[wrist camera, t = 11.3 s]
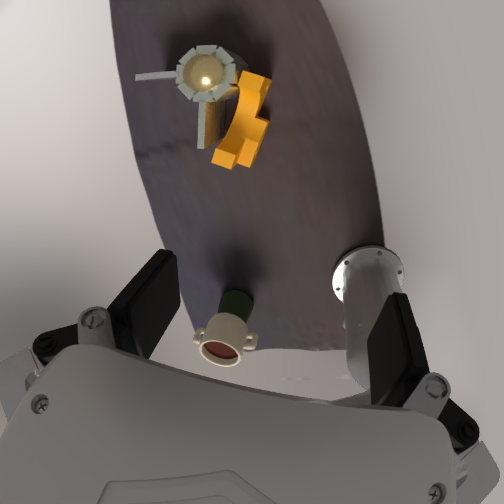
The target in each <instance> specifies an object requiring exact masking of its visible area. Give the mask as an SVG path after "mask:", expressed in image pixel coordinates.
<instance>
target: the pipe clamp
mask: <svg viewBox="0 0 504 504" xmlns="http://www.w3.org/2000/svg"><path fill="white" fill-rule="evenodd" d="M271 81H272V80H271V79H268V78H265V77H262V76H259V75H256V74H253V73H250V72H247V71H243V72H242V74H241V77H240V80H239V82H238V85H237V86H239V88H240V97H239V102H238V106H237V109H236V112H235V115H234V118H233V120H232V123H231V125H230V127H229V129H228V132H227V133H226V135H225V137H224V139H223V140H222V142H221V143H220V145H219V146H218V147H217V148H216V149H215V153H214V156H213V159H212V163H215V164H217V165H220V166H223V167H225V168H228V169H232V168H233V167H234V166H235V165H236V164H237V163H239V164H241V165H244V166H246V167H249V168H250V167H251V165H252V164H253V163H254V160H255V158H256V155H257V152H258V150H259V147H260V145H261V142H262V140H263V137H264V134H265V132H266V129H267V127H268V124H269V122H270V121H269V120H267V119H264V118H261V117H258V114H259V111H260V109H261V106H262V104H263V101H264V99H265V96H266V93H267V91H268V88H269V86H270V83H271Z"/></svg>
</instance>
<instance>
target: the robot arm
mask: <svg viewBox="0 0 504 504" xmlns="http://www.w3.org/2000/svg"><path fill="white" fill-rule="evenodd" d="M346 260H347V261H346ZM403 280H404V269H403V266H402V263H401V261H400V259H399V258H398V256H397V255H396V254H395V253H394V252H393V251H391V250H389V249H387V248H385V247H381V246H374V245H370V246H363V247H359V248H356V249H354V250H352V251H350V252H349V253H347V254H346V255H344V256H343V257H342V258H341V259H340V260H339V262H338V263H337V265H336V266H335V269H334V271H333V275H332V285H333V290H334V292H335V294H336V295H337V297H338V298H339V299H340V300H341V301H342V302H343V306H344V320H343V323H342V326H343V327H344V328H345V336H346V359H347V367H348V370H349V372H350V374H351V376H352V377H353V379H354V380H355V381H356V382H357V383H358V384H359V385H360V386H361V387H363V388H364V389H365V390H366V391H365V392H363V393H360V394H357V395H353V396H351V397H346V398H342V399H338V400H333V401H328V400H320V399H312V398H305V397H299V396H293V395H287V394H281V393H276V392H270V391H265V390H260V389H255V388H250V387H246V386H241V385H237V384H233V383H228V382H224V381H220V380H216V379H213V378H209V377H205V376H201V375H198V374H194V373H190V372H187V371H184V370H181V369H177V368H174V367H171V366H167V365H165V364H161V363H158V362H155V361H152V360H149V358H150V356H151V354H152V352H153V351H154V349H155V347H156V345H157V344H158V342H159V341H160V339H161V337H162V335H163V334H164V332H165V330H166V329H167V327H168V325H169V324H170V322H171V320H172V319H173V317H174V315H175V314H176V312H177V310H178V309H179V307H180V302H181V301H180V291H179V281H178V269H177V258H176V255H173V252H172V251H169V250H164V249H159V250H158V251H157V252H156V253H155V254H154V255H153V256H152V257H151V259H150V260H149V261H148V262H147V263H146V264H145V265H144V266H143V268H142V269H141V270H140V271H139V272H138V273H137V274H136V275H135V276H134V277H133V279H132V280H131V281H130V282H129V283H128V284H127V285H126V287H125V288H124V289H123V290H122V291H121V292H120V294H119V295H118V296H117V297H116V298H115V299H114V301H113V302H112V303H111V304H110V305H109V307H108V308H107V309H105V308H103V307H98V306H96V307H91V308H88V309H86V310H84V311H83V312H82V313H81V314H80V316H79V318H78V323H77V324H74V325H70V326H67V327H63V328H59V329H56V330H52V331H48V332H45V333H42V334H40V335H39V336H38V337H37V338H36V339H35V341H34V343H33V347H32V348H31V349H30V348H29V347H26V348H24V349H23V350H21V351H19V352H17V353H16V354H14V355H12V356H10V357H9V358H7V359H5V360H3V361H1V362H0V400H1V403H2V406H3V409H4V412H5V415H6V418H7V421H8V424H7V426H6V428H5V430H4V432H3V434H2V436H1V438H0V504H480V503H481V502H482V501H483V500H484V498H485V497H486V496H487V495H488V494H489V493H490V492H491V491H492V490H493V488H494V487H495V486H496V485H497V483H498V481H499V478H500V472H499V469H498V467H497V465H496V463H495V461H494V460H493V458H492V456H491V454H490V453H489V451H488V449H487V448H486V446H485V444H484V443H483V441H481V442H479V440H478V438H479V427H478V425H477V423H476V422H475V420H474V419H472V418H471V417H470V416H469V415H468V414H467V413H466V412H465V411H463V410H462V409H461V408H460V407H459V406H458V405H457V404H456V403H454V402H453V401H452V400H451V399H450V398H449V396H450V393H451V389H450V385H449V383H448V381H447V379H446V378H444V377H443V376H442V375H440V374H438V373H435V372H433V373H430V371H429V367H428V362H427V359H426V355H425V350H424V347H423V343H422V340H421V336H420V332H419V329H418V327H417V326H416V322H415V319H414V316H413V313H412V309H411V306H410V303H409V300H408V297H407V295H406V294H405V293H402V290H401V286H402V283H403Z"/></svg>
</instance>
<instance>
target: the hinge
mask: <svg viewBox="0 0 504 504" xmlns="http://www.w3.org/2000/svg"><path fill="white" fill-rule="evenodd" d="M199 54H208V55H212V56H214V57H216V58H218V59H219V60H220V61H221V62H222V64H223V66H224V77H223V80H222V82H221V83H220V84H219V85H218V86H217V87H216V88H215V89H213V90H210V91H204V92H198V91H194V90H192V89H190V88H189V87H188V86H187V85H186V84H185V82H184V79H183V69H184V66H185V65H186V63H187V62H188V61H189V60H190V59H191V58H192V57H194V56H196V55H199ZM179 62H180V63H181V64H182V65H177V70H176V71H166V72H155V73H145V74H137V75H136V77H135V81H139V80H171V79H176V83H180V84H179V85H178V86H177V87H178V88H179V89H180V90H181V92H182V93H183V94H184V95H185V96H186V97H187V98H188V99H189V100H193V102H199V119H198V148H199V149H205V148H206V147H208V146H210V145H211V144H213V143H215V142H217V141H218V140H220V139H222V138H224V124H225V108H226V100H231V99H234V98H236V97H237V96H238V95H239V94H240V88H239V86H237V85H238V82H239V80H240V77H241V74H242V72H243V71H247V72H250V69H248V67H249V65H248V64H247V63H246V62H245V61H244V60H243V59H242V58H241V57H240V56H239V55H238V54H236V53H233V52H231V51H229V50H227V49H225V48H223V47H221V46H218V45H202V46H197V48H192V49H191V50H190V51H189V52H187V53H186V54H185V55H184V56H183V57H182V58H181V59H180V60H179Z"/></svg>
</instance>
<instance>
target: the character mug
mask: <svg viewBox="0 0 504 504" xmlns="http://www.w3.org/2000/svg"><path fill="white" fill-rule="evenodd" d="M252 310H253V303H252V300H251V299H250V298H249V297H248V296H247V295H246V294H245V293H243V292H241V291H238V290H230V291H228V292H226V293H224V295H223V296H222V297H221V300H220V304H219V309H218V314H216V315H214V316H213V317H212V318H211V319H210V321H209V322H208V325H207V327H206V328H198V329H197V331H196V333H195V335H194V337H193V342H194V343H197V344H199V351H200V353H201V355H202V356H203V357H204V358H205V359H207V360H208V361H209V362H212V363H213V364H216V365H219V366H224V367H230V366H234V365H237V364H238V363H239V362H240V360H241V359H242V355H243V351H244V349H255V347H256V344H257V340H258V334H257V333H251V332H248V329H247V326H246V323H247V321H248V319H249V317H250V315H251V312H252ZM201 334H203V336H202V338H199V337H200V335H201ZM247 338H252V340H251V343H246V341H247Z"/></svg>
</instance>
